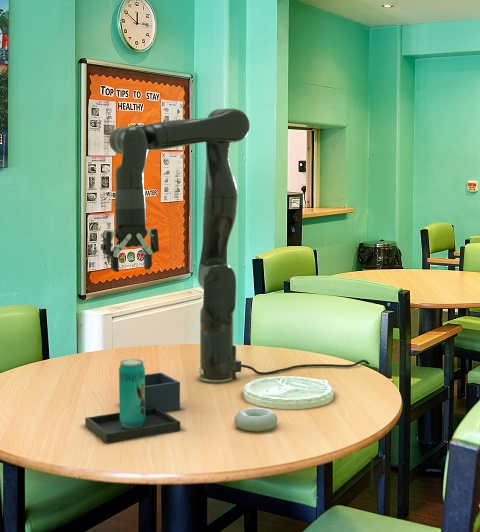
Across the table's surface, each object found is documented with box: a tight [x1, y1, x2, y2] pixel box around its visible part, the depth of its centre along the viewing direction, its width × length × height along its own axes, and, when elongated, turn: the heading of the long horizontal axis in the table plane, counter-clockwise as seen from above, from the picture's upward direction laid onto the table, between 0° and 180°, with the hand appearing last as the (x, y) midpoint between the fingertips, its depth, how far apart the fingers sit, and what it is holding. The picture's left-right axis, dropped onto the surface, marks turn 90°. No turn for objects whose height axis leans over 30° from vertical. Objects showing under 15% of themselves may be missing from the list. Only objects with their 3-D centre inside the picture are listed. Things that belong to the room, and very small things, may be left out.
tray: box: [84, 407, 181, 444], centre depth 186 cm, size 18×14×2 cm
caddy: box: [145, 372, 181, 413], centre depth 202 cm, size 11×11×7 cm
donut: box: [233, 407, 278, 432], centre depth 188 cm, size 10×3×10 cm
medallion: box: [243, 375, 334, 410], centre depth 215 cm, size 24×27×2 cm
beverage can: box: [118, 358, 146, 429], centre depth 185 cm, size 6×6×15 cm
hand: (131, 270), depth 207 cm, fingers open, 8 cm apart
